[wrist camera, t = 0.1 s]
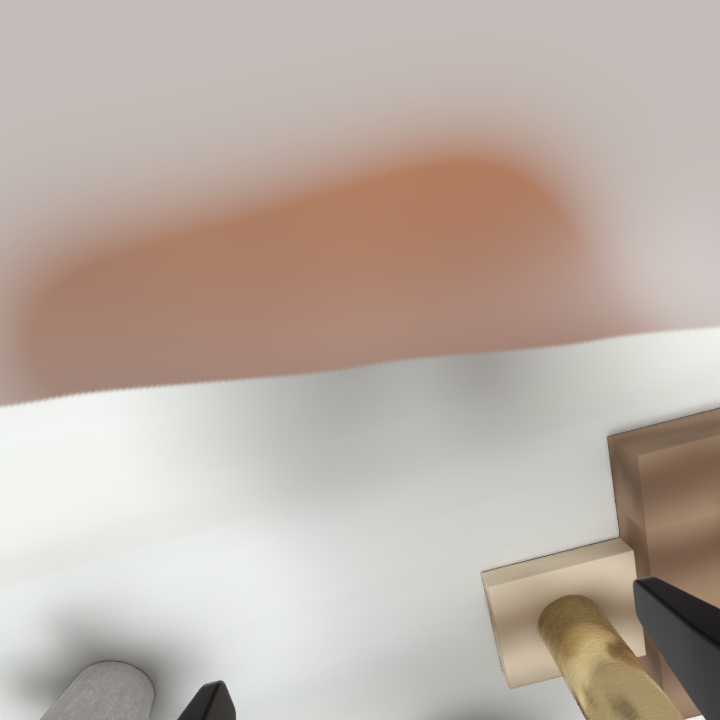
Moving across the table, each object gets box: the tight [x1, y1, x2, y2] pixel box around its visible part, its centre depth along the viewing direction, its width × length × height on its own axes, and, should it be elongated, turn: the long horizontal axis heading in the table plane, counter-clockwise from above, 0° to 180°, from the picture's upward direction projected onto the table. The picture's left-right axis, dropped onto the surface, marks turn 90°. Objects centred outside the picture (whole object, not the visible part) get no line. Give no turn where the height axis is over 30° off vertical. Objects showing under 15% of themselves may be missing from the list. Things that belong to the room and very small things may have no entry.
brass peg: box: [538, 595, 685, 720], centre depth 22 cm, size 4×4×7 cm
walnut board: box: [481, 408, 720, 719], centre depth 25 cm, size 19×23×3 cm
